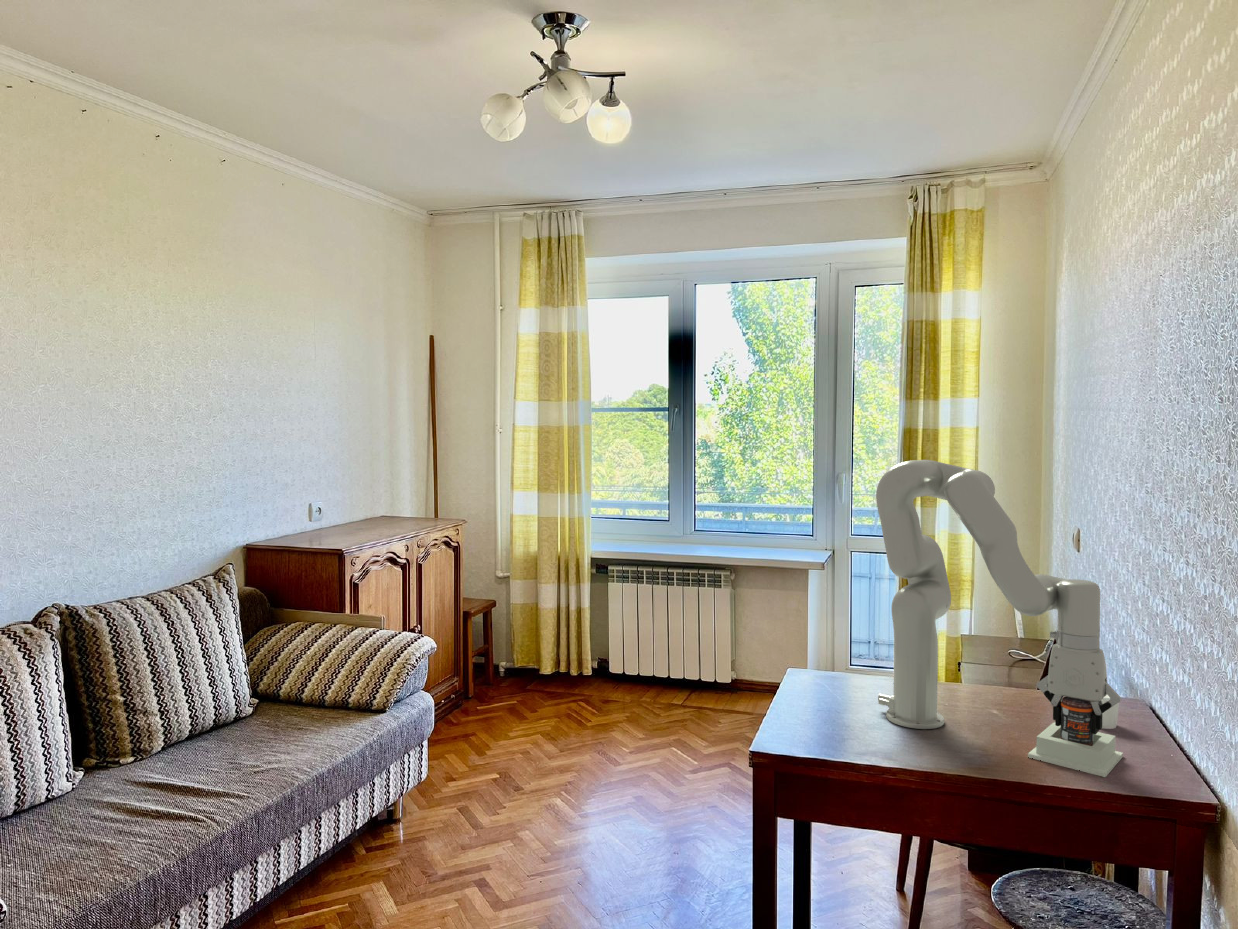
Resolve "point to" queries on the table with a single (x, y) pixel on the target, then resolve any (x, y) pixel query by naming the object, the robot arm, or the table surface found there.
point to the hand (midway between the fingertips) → (1077, 727)
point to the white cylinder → (1109, 715)
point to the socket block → (1077, 752)
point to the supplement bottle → (1076, 721)
